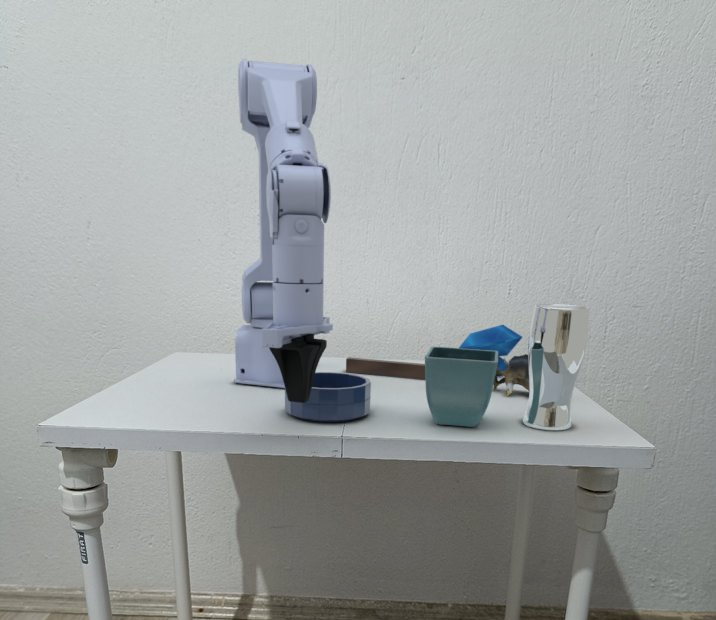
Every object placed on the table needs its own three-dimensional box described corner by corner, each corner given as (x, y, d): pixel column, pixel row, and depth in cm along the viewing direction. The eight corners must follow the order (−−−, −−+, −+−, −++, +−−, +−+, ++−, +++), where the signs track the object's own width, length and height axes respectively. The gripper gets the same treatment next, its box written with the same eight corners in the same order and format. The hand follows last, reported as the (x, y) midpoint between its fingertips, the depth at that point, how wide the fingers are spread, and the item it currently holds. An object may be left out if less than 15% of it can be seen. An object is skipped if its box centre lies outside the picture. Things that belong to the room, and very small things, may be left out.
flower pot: (491, 433, 81) (498, 360, 78) (419, 428, 83) (424, 356, 80) (491, 416, 89) (498, 350, 86) (426, 411, 91) (431, 346, 88)
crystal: (452, 330, 121) (519, 318, 118) (459, 377, 124) (525, 366, 121) (450, 336, 114) (521, 323, 111) (458, 385, 117) (527, 373, 114)
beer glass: (512, 417, 89) (525, 303, 84) (562, 417, 90) (578, 304, 85) (529, 431, 83) (544, 308, 78) (582, 431, 84) (601, 309, 78)
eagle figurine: (477, 387, 102) (533, 385, 96) (485, 345, 103) (541, 341, 98) (496, 407, 107) (550, 406, 102) (504, 367, 109) (557, 364, 104)
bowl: (270, 418, 85) (270, 383, 84) (305, 400, 95) (305, 369, 94) (352, 428, 82) (353, 392, 80) (379, 408, 92) (381, 376, 90)
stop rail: (345, 372, 117) (346, 358, 116) (348, 370, 118) (349, 357, 117) (434, 380, 112) (435, 366, 111) (436, 379, 113) (437, 365, 112)
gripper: (304, 287, 67) (304, 418, 71) (353, 281, 80) (350, 392, 84) (242, 284, 69) (246, 411, 73) (299, 278, 82) (299, 387, 86)
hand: (298, 401), depth 79 cm, fingers closed
